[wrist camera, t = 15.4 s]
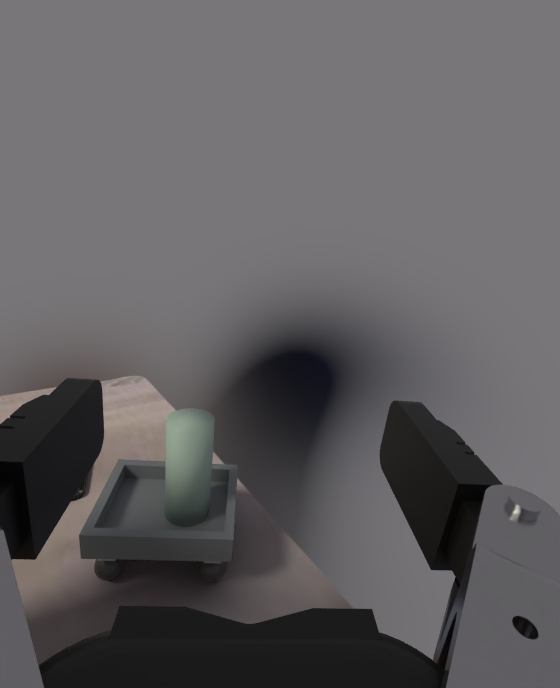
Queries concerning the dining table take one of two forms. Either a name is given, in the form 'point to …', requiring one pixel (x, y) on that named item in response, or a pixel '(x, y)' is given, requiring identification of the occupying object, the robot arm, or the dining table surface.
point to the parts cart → (157, 522)
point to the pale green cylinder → (188, 466)
